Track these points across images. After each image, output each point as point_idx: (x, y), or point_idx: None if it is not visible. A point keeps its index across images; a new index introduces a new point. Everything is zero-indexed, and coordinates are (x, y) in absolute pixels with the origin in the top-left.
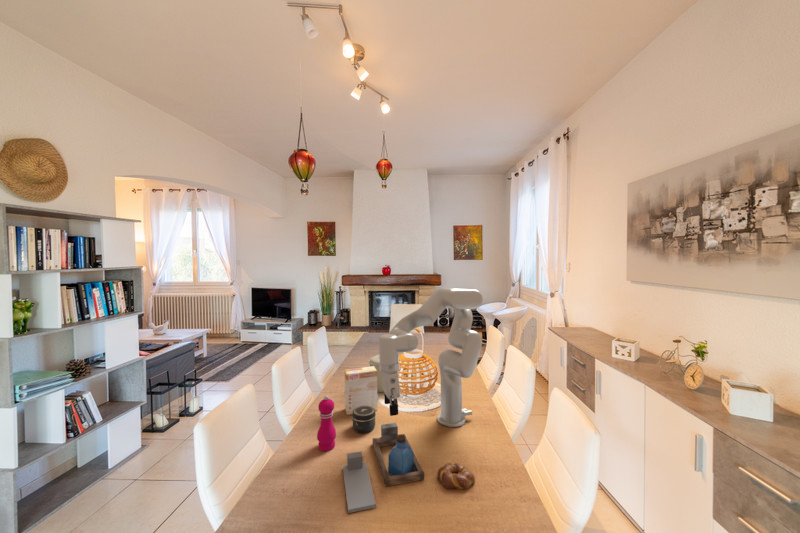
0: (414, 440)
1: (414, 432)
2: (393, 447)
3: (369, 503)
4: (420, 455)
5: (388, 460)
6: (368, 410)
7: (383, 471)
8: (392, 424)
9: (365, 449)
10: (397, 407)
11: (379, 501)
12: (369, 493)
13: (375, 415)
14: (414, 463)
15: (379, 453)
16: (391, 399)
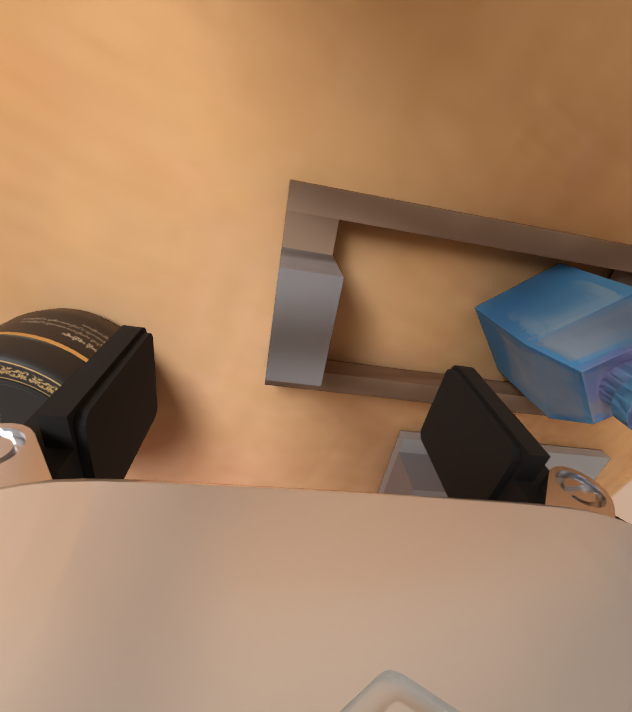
0: (333, 111)
1: (231, 45)
2: (596, 421)
3: (593, 471)
4: (492, 162)
5: (532, 401)
6: (15, 407)
7: (525, 410)
8: (296, 304)
9: (296, 406)
10: (517, 429)
11: (589, 434)
12: (560, 463)
13: (50, 341)
14: (579, 262)
15: (406, 390)
16: (132, 367)
